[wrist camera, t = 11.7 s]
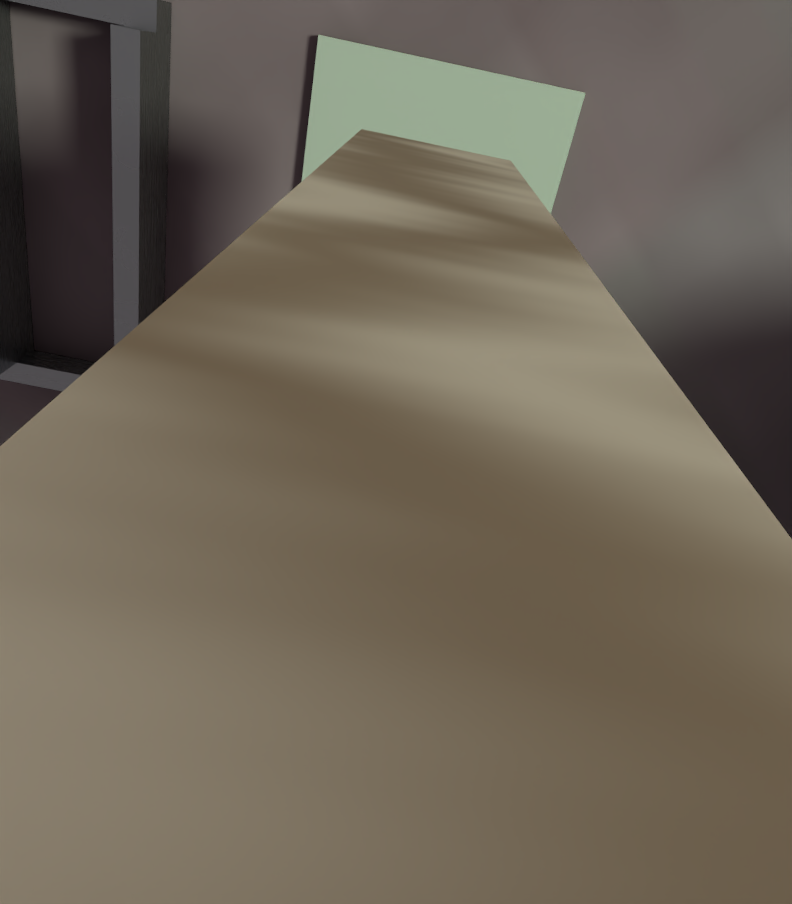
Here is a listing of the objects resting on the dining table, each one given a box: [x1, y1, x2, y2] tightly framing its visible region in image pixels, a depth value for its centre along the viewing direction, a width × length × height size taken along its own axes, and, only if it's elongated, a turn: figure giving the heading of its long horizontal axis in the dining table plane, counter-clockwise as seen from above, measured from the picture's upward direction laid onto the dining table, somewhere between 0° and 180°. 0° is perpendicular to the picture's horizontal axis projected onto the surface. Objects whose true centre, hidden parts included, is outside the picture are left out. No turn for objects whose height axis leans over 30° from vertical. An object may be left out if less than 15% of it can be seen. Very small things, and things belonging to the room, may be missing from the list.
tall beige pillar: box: [0, 129, 792, 904], centre depth 12 cm, size 4×12×20 cm, turn 169°
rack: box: [0, 0, 171, 391], centre depth 28 cm, size 7×16×3 cm, turn 169°
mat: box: [302, 35, 585, 214], centre depth 30 cm, size 10×16×1 cm, turn 169°
